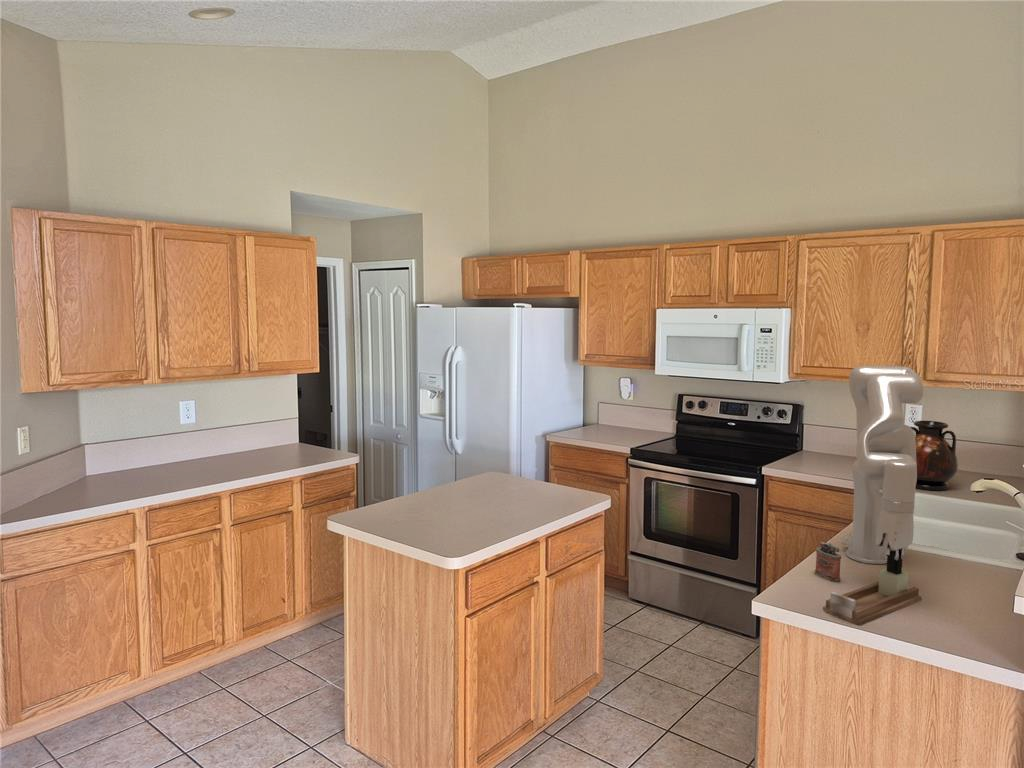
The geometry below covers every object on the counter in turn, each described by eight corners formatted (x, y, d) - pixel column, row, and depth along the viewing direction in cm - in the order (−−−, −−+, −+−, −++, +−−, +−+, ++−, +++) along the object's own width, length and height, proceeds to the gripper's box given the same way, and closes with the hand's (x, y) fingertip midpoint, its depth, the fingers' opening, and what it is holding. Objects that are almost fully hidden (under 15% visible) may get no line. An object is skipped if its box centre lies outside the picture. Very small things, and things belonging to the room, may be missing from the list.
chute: (822, 610, 180) (823, 590, 179) (884, 587, 194) (885, 568, 194) (859, 625, 171) (860, 604, 171) (921, 600, 186) (922, 580, 185)
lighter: (812, 573, 205) (813, 540, 204) (820, 571, 206) (822, 538, 205) (834, 583, 197) (836, 549, 196) (843, 581, 199) (844, 547, 198)
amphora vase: (960, 485, 302) (964, 422, 299) (951, 496, 286) (956, 429, 282) (904, 477, 316) (908, 417, 313) (893, 487, 299) (897, 423, 296)
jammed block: (878, 592, 188) (879, 571, 188) (888, 588, 191) (889, 567, 190) (896, 599, 184) (897, 577, 183) (907, 594, 187) (908, 573, 186)
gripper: (899, 498, 192) (895, 562, 194) (867, 506, 184) (864, 573, 186) (927, 505, 185) (923, 571, 187) (895, 513, 178) (891, 582, 180)
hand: (893, 572), depth 187 cm, fingers closed
